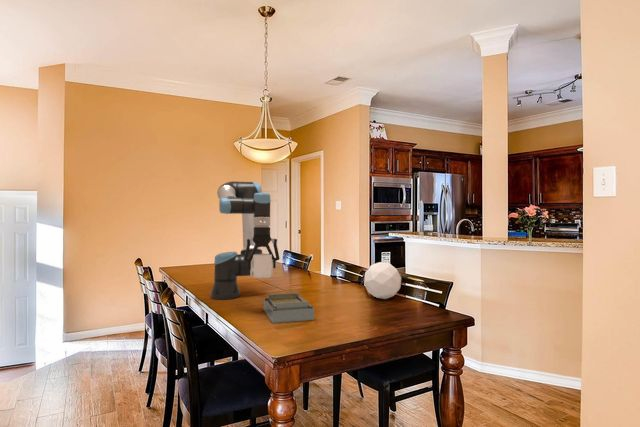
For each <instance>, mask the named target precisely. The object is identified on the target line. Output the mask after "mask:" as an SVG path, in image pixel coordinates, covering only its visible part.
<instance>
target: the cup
mask: <svg viewBox="0 0 640 427" xmlns="http://www.w3.org/2000/svg"><path fill="white" fill-rule="evenodd" d="M251 262H253V278H255V279H269V278H271V277H272V276H271V275H272V254H271V255H270V254H269V253H264V254H263V253H262V254H254V255H253V258H252V260H251Z"/></svg>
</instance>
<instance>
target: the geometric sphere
mask: <svg viewBox="0 0 640 427" xmlns="http://www.w3.org/2000/svg"><path fill="white" fill-rule="evenodd" d="M401 283H402V276H401V274H400V272H399V271H398V269H397V268H396V267H395V266H393V265H392V264H391V263H390V262H381V261H379V262H376V263H374V264H371V265H370V266H369V267H368V269H367V270H366V271H365V273H364V280H363V284H364V287H365V288H366V291H367V293H369V294H371V295H372V297H374V298H375V297H376V298H377V299H381V300H387V299H390V298H392V297H394V296H395V295H396V294H397V293H398V292H399V291H400V289H401V285H402V284H401Z"/></svg>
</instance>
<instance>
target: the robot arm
mask: <svg viewBox="0 0 640 427" xmlns="http://www.w3.org/2000/svg"><path fill="white" fill-rule="evenodd" d="M216 193H217V194H216V195H217V197H218V199H219V202H218V204H219V206H218V208H219V213H220V214H226V215H230V214H232V215H235V214H240V215H241V216H242V217H241V219H242V221H241V223H242V247H243V248H242V249H241V250H240V253H238V252H237V251H226V252H221V253H218V254H215V256H214V263H213V265H214V275H213V276H214V277H213V278H214V280H213V281H214V282H213V285H212V288H211V292H210V298H211V299H215V300H233V299H237V298H240V296H241V291H240V288H239V285H238V277H246V276H247V277H249V276H250V278H252V277H253V278H254V276H253V262H251V260H252V258H253V255H254V254H265V253H263V250H262V247H263V248H266V250H267V251H268V254H270V255H271V254H272V275H271V277H274V269H276V267H277V266H276V262H277V261H279V260H280V255H279V254H280V253H279V249H278V245H277V244H278V239H277V238H272V237H271V202H272V201H271V194H270V193H269V192H262V186H261V184H260V183H259V182H258V181H257V182H254V181H233V180H232V181H228V182H225V183H223V184H222V185H220V186H219V187H218V189H217V192H216ZM270 243H271V244H273V245H272V246H273V250H274V253H273V251H272V249H271V246H270V245H269V244H270Z"/></svg>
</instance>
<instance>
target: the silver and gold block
mask: <svg viewBox="0 0 640 427" xmlns="http://www.w3.org/2000/svg"><path fill="white" fill-rule="evenodd" d="M263 311H264V313H265V315H266V316H267V317H268V319H269V320H270V322H271V323H272V324H278V323H280V324H281V323H291V322H294V323H295V322H303V321H307V322H308V321H314V320H315V307H314V306H313V305H312V304H310V301H309V300H305V299H304V298H303V297H302V295H300V294H299V292H287V293H285V292H284V293H283V292H282V293H269V294H268V297H264V299H263Z"/></svg>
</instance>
